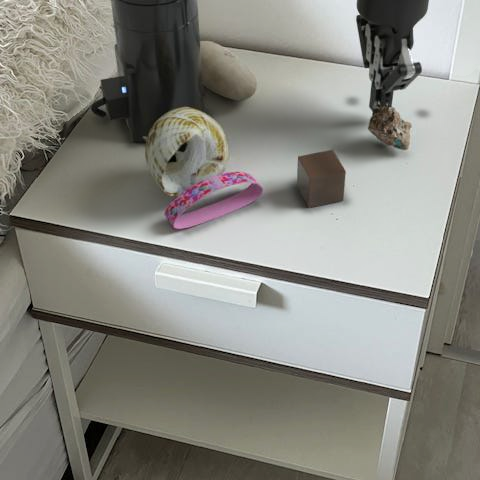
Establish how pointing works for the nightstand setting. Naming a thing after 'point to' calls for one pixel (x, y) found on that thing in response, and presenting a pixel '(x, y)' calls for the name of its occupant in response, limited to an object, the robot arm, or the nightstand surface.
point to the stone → (225, 72)
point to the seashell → (185, 150)
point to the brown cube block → (320, 178)
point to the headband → (213, 210)
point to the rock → (389, 127)
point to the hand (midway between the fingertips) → (379, 110)
